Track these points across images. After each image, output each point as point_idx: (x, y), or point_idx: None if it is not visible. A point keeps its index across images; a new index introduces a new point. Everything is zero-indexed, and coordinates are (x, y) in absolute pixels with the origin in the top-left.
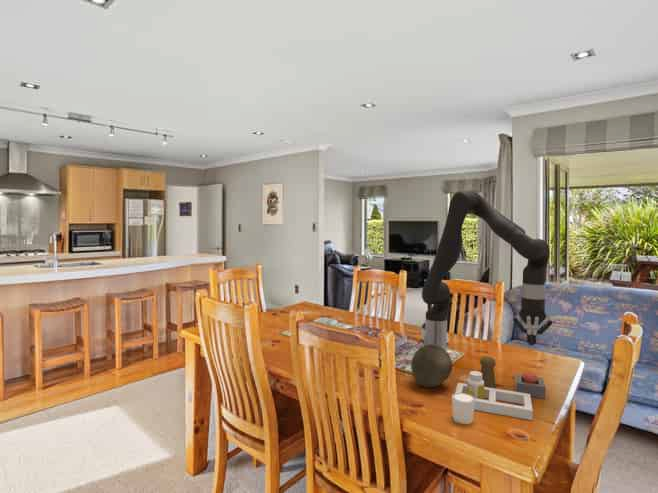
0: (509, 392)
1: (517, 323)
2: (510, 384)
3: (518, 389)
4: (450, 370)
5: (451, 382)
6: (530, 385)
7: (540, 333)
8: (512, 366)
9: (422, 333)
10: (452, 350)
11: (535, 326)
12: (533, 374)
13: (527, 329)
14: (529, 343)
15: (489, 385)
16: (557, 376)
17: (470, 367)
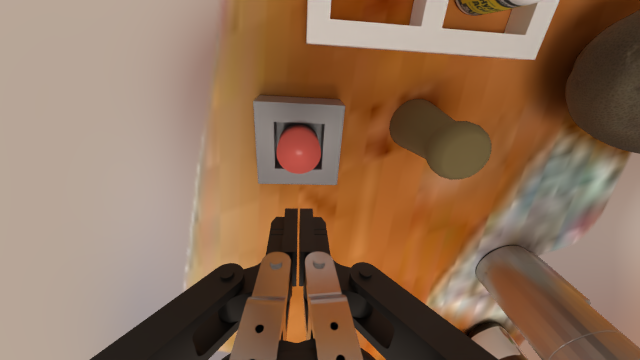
0: (375, 29)
1: (445, 333)
2: (345, 164)
3: (335, 101)
4: (615, 46)
5: (510, 119)
6: (300, 103)
7: (230, 268)
8: None
9: (521, 350)
10: (448, 309)
11: (265, 318)
12: (287, 161)
13: (336, 287)
14: (310, 212)
15: (418, 104)
16: (225, 253)
17: (429, 235)
